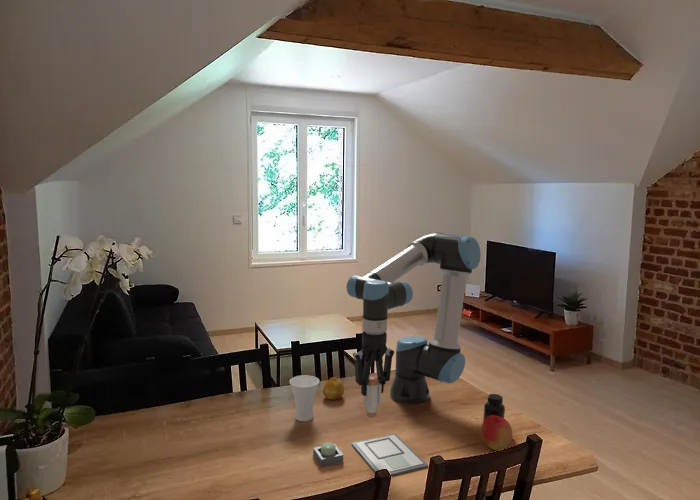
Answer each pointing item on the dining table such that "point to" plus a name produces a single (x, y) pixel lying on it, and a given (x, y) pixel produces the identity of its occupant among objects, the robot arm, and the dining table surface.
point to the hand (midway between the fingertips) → (372, 403)
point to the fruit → (333, 388)
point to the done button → (328, 449)
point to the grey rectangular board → (389, 454)
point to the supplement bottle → (494, 406)
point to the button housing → (327, 460)
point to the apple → (496, 432)
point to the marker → (373, 397)
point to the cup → (304, 395)
